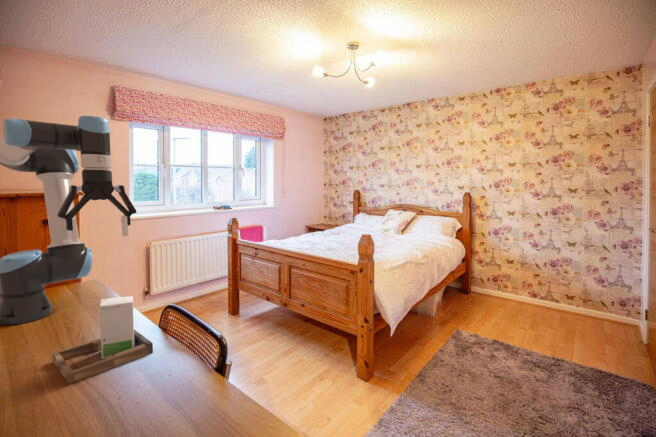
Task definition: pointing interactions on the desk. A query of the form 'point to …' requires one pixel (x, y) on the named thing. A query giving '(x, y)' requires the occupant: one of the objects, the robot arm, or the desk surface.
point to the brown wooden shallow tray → (111, 361)
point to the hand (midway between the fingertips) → (101, 238)
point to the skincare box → (116, 325)
